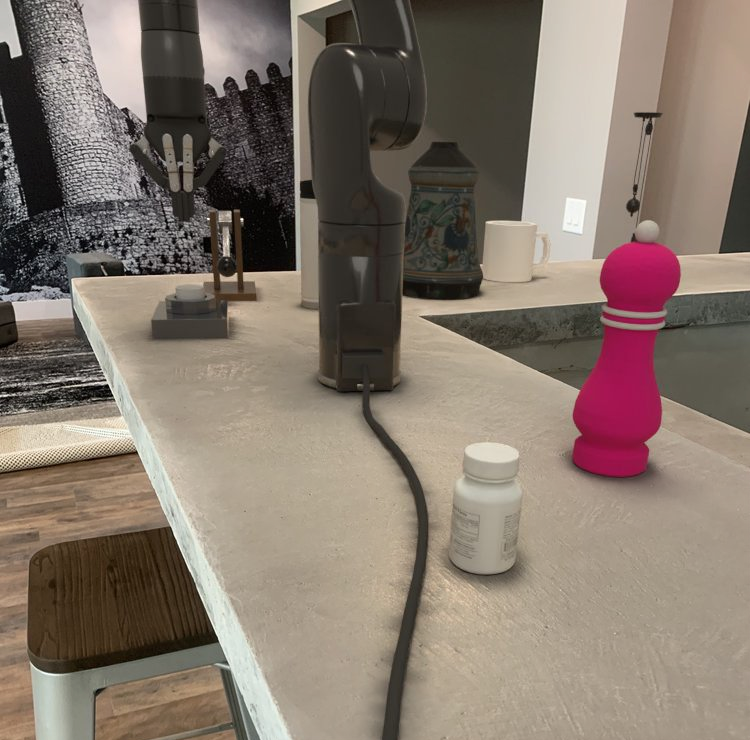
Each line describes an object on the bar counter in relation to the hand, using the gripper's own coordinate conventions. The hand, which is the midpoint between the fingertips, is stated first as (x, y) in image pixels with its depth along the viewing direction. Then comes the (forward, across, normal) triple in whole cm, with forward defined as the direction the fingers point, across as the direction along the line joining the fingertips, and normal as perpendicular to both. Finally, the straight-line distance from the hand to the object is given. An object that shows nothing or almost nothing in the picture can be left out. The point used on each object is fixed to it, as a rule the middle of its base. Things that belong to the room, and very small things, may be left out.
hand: (184, 221), depth 103 cm
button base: (+14, 0, 0) cm, 15 cm away
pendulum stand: (+15, +5, +26) cm, 30 cm away
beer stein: (+15, +42, +29) cm, 53 cm away
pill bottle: (+14, +22, -70) cm, 75 cm away
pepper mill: (+14, +38, -55) cm, 68 cm away
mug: (+15, +62, +42) cm, 76 cm away
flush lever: (+7, +5, +22) cm, 24 cm away
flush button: (+10, 0, 0) cm, 10 cm away
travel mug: (+15, +20, +15) cm, 29 cm away
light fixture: (+15, +92, +51) cm, 106 cm away
